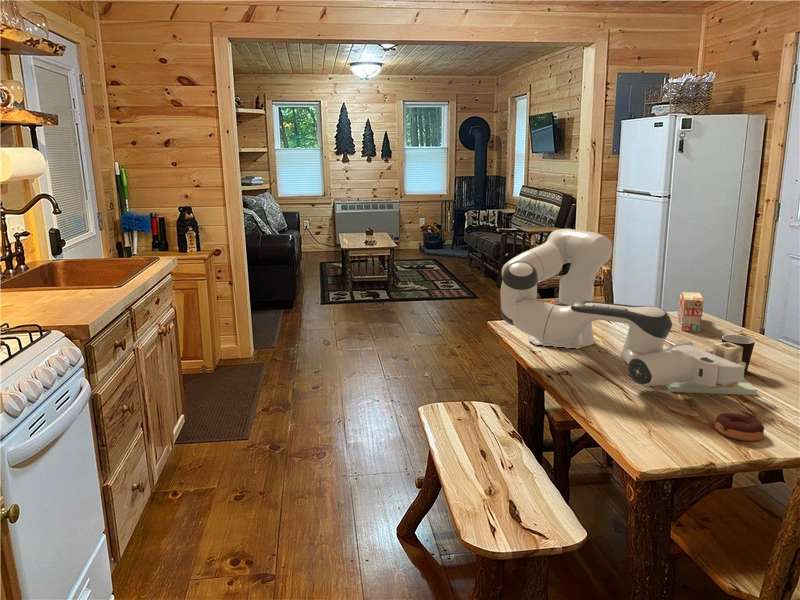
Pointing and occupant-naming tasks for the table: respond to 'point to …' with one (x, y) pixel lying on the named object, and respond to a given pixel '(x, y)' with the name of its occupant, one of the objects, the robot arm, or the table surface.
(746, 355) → the coffee mug
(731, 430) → the donut
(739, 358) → the sleeve
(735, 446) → the table surface
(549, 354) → the table surface
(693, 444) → the table surface
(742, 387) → the peg board
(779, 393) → the table surface
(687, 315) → the stack of blocks
